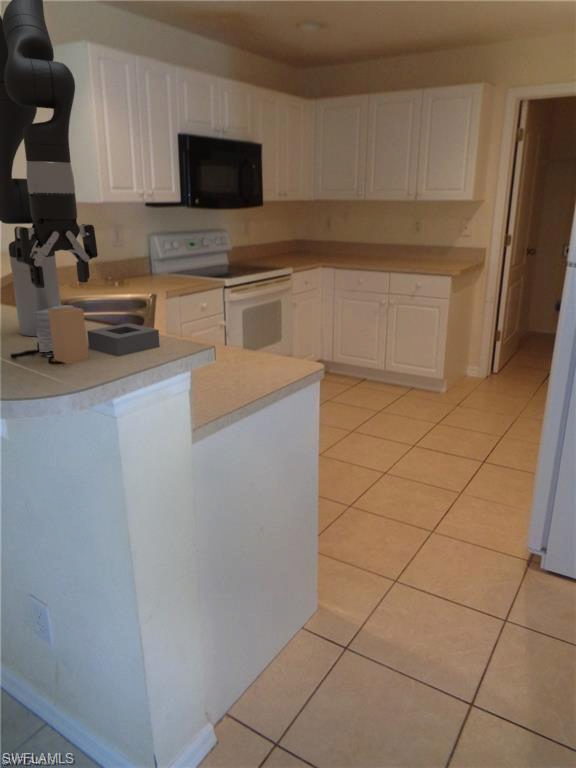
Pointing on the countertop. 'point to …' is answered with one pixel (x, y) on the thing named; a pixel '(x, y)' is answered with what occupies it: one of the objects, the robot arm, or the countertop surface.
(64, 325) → the plug
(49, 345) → the medicine box
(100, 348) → the gray square socket block
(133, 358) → the countertop surface
